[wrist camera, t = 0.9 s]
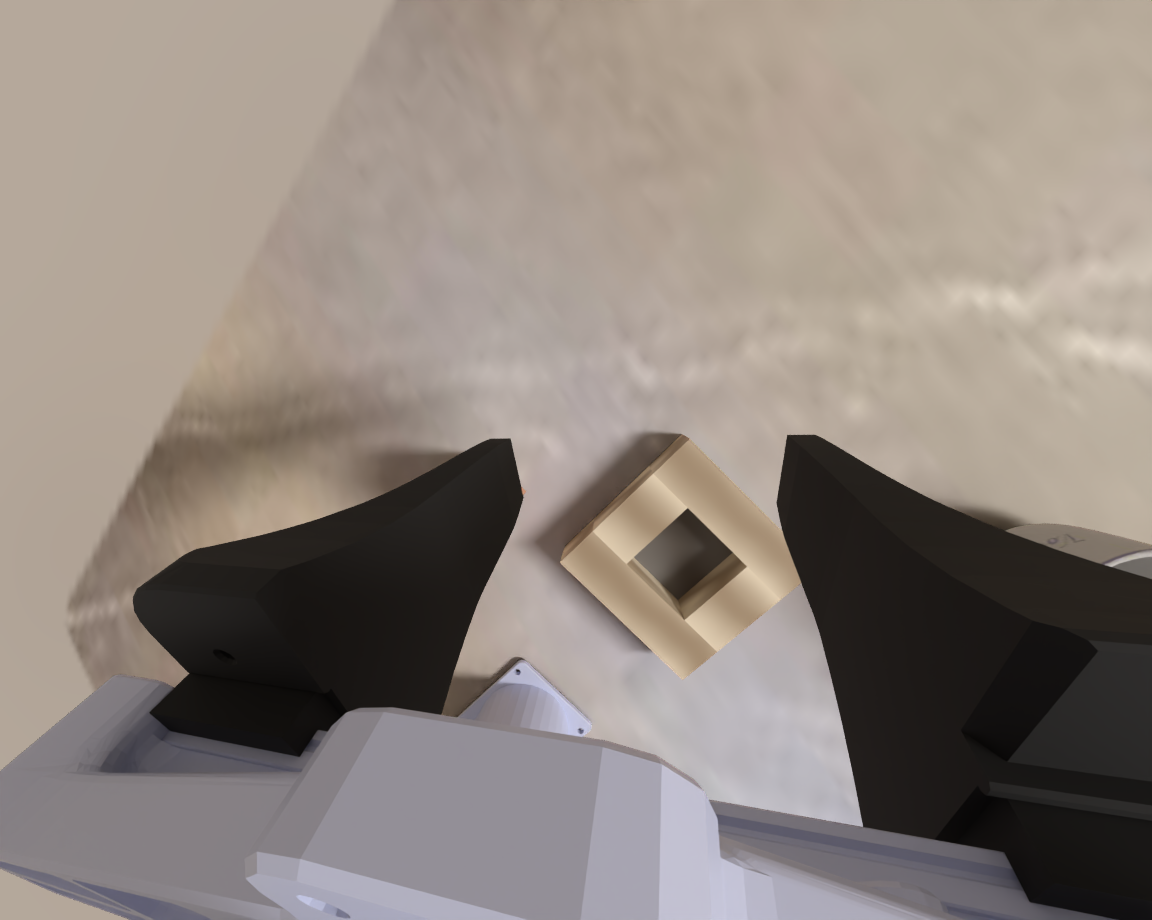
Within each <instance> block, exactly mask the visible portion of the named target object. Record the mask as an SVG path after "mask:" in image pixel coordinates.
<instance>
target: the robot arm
mask: <svg viewBox="0 0 1152 920" xmlns="http://www.w3.org/2000/svg"><path fill="white" fill-rule="evenodd" d="M523 498H524V497H523V493H522V488H521V484H520V479H519V475H518V470H517V466H516V461H515V457H514V452H513V448H512V443H511V439H489V440H486V441H484V442H482V443H480V444H478V445H476V446H474V447H472V448H470V449H468V450H467V451H465V452H463V453H461V454H459V455H458V456H456V457H454V458H452V459H451V460H449V461H447V462H445V463H444V464H442V465H440V466H438V467H437V468H435V469H433V470H431V471H429V472H427V473H425V474H423V475H421V476H420V477H418V478H416V479H414V480H412V481H410V482H408V483H406V484H404V485H402V486H400V487H398V488H396V489H394V490H392V491H390V492H388V493H385V494H383V495H381V496H378V497H376V498H374V499H371V500H369V501H367V502H364V503H362V504H359V505H357V506H354V507H351V508H348V509H345V510H343V511H340V512H337V513H334V514H331V515H329V516H326V517H323V518H320V519H317V520H314V521H311V522H307V523H304V524H301V525H297V526H294V527H290V528H287V529H283V530H279V531H276V532H272V533H268V534H264V535H260V536H256V537H251V538H247V539H242V540H238V541H233V542H228V543H224V544H219V545H215V546H210V547H205V548H200V549H196V550H193V551H191V552H189V553H187V554H185V555H183V556H182V557H181V558H179V559H178V560H176V561H175V562H174V563H172V564H171V565H169V566H168V567H167V568H165V569H164V570H162V571H161V572H160V573H158V574H157V575H155V576H154V577H153V578H151V579H150V580H149V581H147V582H146V583H144V584H143V585H142V586H140V587H139V588H137V590H136V592H135V594H134V596H133V605H134V611H135V613H136V615H137V617H138V618H139V620H140V622H141V623H142V624H143V626H144V627H145V628H146V629H147V630H148V632H149V633H150V634H151V635H152V636H153V637H154V638H155V639H156V640H157V641H158V642H159V643H160V644H161V645H162V646H163V647H164V648H165V649H166V650H167V651H168V652H169V653H170V654H171V655H172V656H173V657H174V658H175V659H176V660H177V662H178V663H179V664H180V665H181V666H182V667H183V668H184V669H185V670H186V671H187V672H188V673H189V674H188V675H187V676H186V677H185V678H184V679H183V680H182V681H181V682H180V683H179V684H178V685H177V686H176V687H175V688H174V687H172V686H170V685H168V684H166V683H165V682H162V681H158V680H154V679H148V678H142V677H135V676H129V675H123V674H119V675H114V676H112V677H111V678H110V679H109V680H108V681H107V682H105V683H104V684H103V685H102V686H101V687H99V688H98V689H97V690H96V691H95V692H93V693H92V694H91V695H90V696H89V697H88V698H86V699H85V700H84V701H83V702H82V703H80V704H79V705H78V706H77V707H76V708H74V709H73V710H72V711H71V712H70V713H68V714H67V715H66V716H65V717H64V718H63V719H61V720H60V721H59V722H58V723H57V724H55V725H54V726H53V727H52V728H51V729H49V730H48V731H47V732H46V733H45V734H43V735H42V736H41V737H40V738H39V739H37V740H36V741H35V742H34V743H33V744H32V745H30V746H29V747H28V748H27V749H26V750H24V751H23V752H22V753H21V754H20V755H18V756H17V757H16V758H15V759H14V760H13V761H11V762H10V763H9V764H8V765H7V766H6V767H4V768H3V769H2V770H1V771H0V869H2V870H4V871H7V872H9V873H11V874H13V875H16V876H18V877H20V878H22V879H25V880H27V881H29V882H31V883H34V884H36V885H38V886H40V887H43V888H45V889H47V890H49V891H52V892H54V893H56V894H59V895H62V896H65V897H68V898H71V899H73V900H77V901H79V902H82V903H85V904H88V905H91V906H93V907H96V908H99V909H102V910H104V911H107V912H110V913H113V914H115V915H118V916H121V917H124V918H127V919H129V920H1152V579H1150V578H1147V577H1143V576H1140V575H1137V574H1133V573H1130V572H1127V571H1123V570H1120V569H1116V568H1113V567H1110V566H1106V565H1103V564H1100V563H1096V562H1093V561H1090V560H1087V559H1084V558H1081V557H1078V556H1075V555H1072V554H1069V553H1066V552H1063V551H1060V550H1057V549H1054V548H1051V547H1048V546H1045V545H1043V544H1040V543H1037V542H1034V541H1032V540H1029V539H1026V538H1023V537H1020V536H1018V535H1015V534H1012V533H1009V532H1007V531H1004V530H1002V529H999V528H997V527H994V526H991V525H989V524H986V523H984V522H982V521H979V520H977V519H975V518H972V517H970V516H968V515H965V514H963V513H961V512H958V511H956V510H954V509H951V508H949V507H947V506H945V505H943V504H940V503H938V502H936V501H934V500H932V499H930V498H928V497H926V496H924V495H922V494H920V493H918V492H916V491H914V490H912V489H910V488H908V487H906V486H904V485H903V484H901V483H899V482H897V481H895V480H893V479H891V478H890V477H888V476H886V475H884V474H882V473H881V472H879V471H877V470H875V469H874V468H872V467H870V466H869V465H867V464H865V463H864V462H862V461H860V460H859V459H857V458H855V457H854V456H852V455H850V454H849V453H847V452H845V451H844V450H842V449H840V448H839V447H837V446H835V445H833V444H832V443H830V442H828V441H826V440H825V439H823V438H821V437H819V436H817V435H787V440H786V447H785V453H784V460H783V466H782V472H781V479H780V485H779V491H778V498H777V507H778V512H779V517H780V522H781V526H782V531H783V535H784V538H785V541H786V544H787V547H788V549H789V552H790V555H791V557H792V560H793V563H794V565H795V568H796V570H797V573H798V575H799V578H800V581H801V583H802V586H803V588H804V591H805V594H806V596H807V599H808V601H809V604H810V607H811V609H812V612H813V614H814V617H815V620H816V623H817V626H818V629H819V632H820V636H821V640H822V644H823V647H824V651H825V655H826V659H827V663H828V667H829V670H830V674H831V678H832V683H833V687H834V691H835V695H836V699H837V704H838V708H839V712H840V716H841V720H842V725H843V730H844V734H845V739H846V744H847V748H848V753H849V758H850V762H851V767H852V771H853V776H854V781H855V786H856V791H857V797H858V802H859V807H860V812H861V818H862V823H863V827H859V826H854V825H848V824H843V823H837V822H831V821H826V820H820V819H815V818H809V817H803V816H798V815H792V814H787V813H781V812H775V811H770V810H764V809H759V808H753V807H747V806H742V805H736V804H731V803H725V802H719V801H714V800H708V797H707V795H706V793H705V791H704V790H703V789H702V788H701V787H700V786H699V785H698V783H697V782H696V781H695V780H694V779H693V778H691V777H689V776H688V775H686V774H685V773H683V772H682V771H680V770H679V769H677V768H675V767H674V766H672V765H671V764H669V763H668V762H666V761H664V760H663V759H661V758H660V757H658V756H657V755H654V754H650V753H647V752H643V751H640V750H636V749H633V748H629V747H626V746H622V745H619V744H616V743H612V742H609V741H605V740H599V739H592V738H586V737H583V736H584V735H586V734H587V733H588V732H589V731H590V730H591V725H592V724H591V722H590V720H589V719H588V718H587V717H586V716H584V715H583V714H582V713H581V712H580V711H579V710H578V709H577V708H576V707H575V706H574V705H573V704H572V703H571V702H569V701H568V700H567V699H566V698H565V697H564V696H563V695H562V694H561V693H560V692H559V691H558V690H557V689H556V688H554V687H553V686H552V685H551V684H550V683H549V682H548V681H547V680H546V679H545V678H544V677H543V676H542V675H541V674H540V673H538V672H537V671H536V670H535V669H534V668H533V667H532V666H531V665H530V664H529V663H528V662H527V661H525V660H519V661H518V662H517V663H516V664H515V665H513V666H512V667H511V668H510V669H509V670H508V671H507V672H506V673H505V674H504V675H503V676H501V677H500V678H499V679H498V680H497V681H496V682H495V683H494V684H493V685H492V686H491V687H489V688H488V689H487V690H486V691H485V692H484V693H483V694H482V695H481V696H480V697H479V698H477V699H476V700H475V701H474V702H473V703H472V704H471V705H470V706H469V707H468V708H467V709H465V710H464V711H463V712H462V713H461V714H460V715H459V716H458V717H451V716H445V715H441V714H442V710H443V707H444V703H445V700H446V697H447V693H448V690H449V687H450V683H451V680H452V676H453V673H454V670H455V667H456V664H457V661H458V658H459V655H460V652H461V649H462V646H463V643H464V640H465V637H466V634H467V631H468V628H469V625H470V623H471V620H472V617H473V614H474V612H475V609H476V606H477V604H478V601H479V599H480V597H481V594H482V592H483V590H484V588H485V586H486V584H487V582H488V580H489V578H490V576H491V574H492V572H493V570H494V568H495V566H496V564H497V562H498V560H499V557H500V555H501V553H502V551H503V549H504V547H505V545H506V543H507V541H508V539H509V537H510V535H511V533H512V531H513V529H514V526H515V523H516V520H517V517H518V514H519V511H520V508H521V504H522V501H523ZM516 669H519V670H520V672H517V671H516ZM579 728H582V729H583V730H579Z"/></svg>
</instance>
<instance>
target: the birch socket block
mask: <svg viewBox="0 0 1152 920" xmlns="http://www.w3.org/2000/svg"><path fill="white" fill-rule="evenodd" d="M560 563H561V564H562V565H563V566H564V567H565V568H566V569H567V570H568V571H569V572H570V573H571V574H572V575H573V576H574V577H575V578H576V579H577V580H579V581H580V582H581V583H582V584H583V585H584V586H585V587H586V588H587V589H588V590H589V591H590V592H591V593H592V594H593V595H594V596H595V597H596V598H597V599H598V600H599V601H600V602H602V603H603V604H604V605H605V606H606V607H607V608H608V609H609V610H610V611H611V612H612V613H613V614H614V615H615V616H616V617H617V618H618V619H619V620H620V621H621V622H622V623H623V624H625V625H626V626H627V627H628V628H629V629H630V630H631V631H632V632H633V633H634V634H635V635H636V636H637V637H638V638H639V639H640V640H641V641H642V642H643V643H644V644H645V645H646V646H647V647H649V648H650V649H651V650H652V651H653V652H654V653H655V654H656V655H657V656H658V657H659V658H660V659H661V660H662V661H663V662H664V663H665V664H666V665H667V666H668V667H669V668H670V669H672V670H673V671H674V672H675V673H676V674H677V675H678V676H679V677H680V678H681V679H682V680H683V679H685V678H686V677H687V676H688V675H690V674H691V673H692V672H693V671H694V670H696V669H697V668H698V667H699V666H700V665H702V664H703V663H704V662H705V661H707V660H708V659H709V658H710V657H711V656H713V655H714V654H715V653H716V652H718V651H719V650H720V649H721V648H722V647H724V646H725V645H726V644H727V643H729V642H730V641H731V640H732V639H733V638H735V637H736V636H737V635H738V634H740V633H741V632H742V631H743V630H744V629H746V628H747V627H748V626H749V625H751V624H752V623H753V622H754V621H755V620H757V619H758V618H759V617H760V616H762V615H763V614H764V613H765V612H766V611H768V610H769V609H770V608H771V607H773V606H774V605H775V604H776V603H777V602H779V601H780V600H781V599H782V598H784V597H785V596H786V595H787V594H788V593H790V592H791V591H792V590H793V589H795V588H796V587H797V586H798V585H799V584H801V581H800V578H799V575H798V573H797V570H796V568H795V565H794V563H793V560H792V557H791V555H790V552H789V549H788V547H787V544H786V541H785V538H784V535H783V532H782V531H781V530H780V529H779V528H778V527H777V526H776V525H775V524H774V523H773V522H772V521H771V520H770V519H769V518H768V517H767V516H766V515H765V514H764V513H763V512H762V511H761V510H760V509H759V508H758V507H757V506H756V505H755V504H754V503H753V502H752V501H751V500H750V499H749V498H748V497H747V496H746V495H745V494H744V493H743V492H742V491H741V490H740V489H739V488H738V487H737V486H736V485H735V484H734V483H733V482H732V481H731V480H730V479H729V478H728V477H727V476H726V475H725V474H724V473H723V472H722V471H721V470H720V469H719V468H718V467H717V466H716V465H715V464H714V463H713V462H712V461H711V460H710V459H709V458H708V457H707V456H706V455H705V454H704V453H703V452H702V451H701V450H700V449H699V448H698V447H697V446H696V445H695V444H694V443H693V442H692V441H691V440H690V439H689V438H688V437H686V436H684V435H681V436H680V437H679V438H677V439H676V440H675V441H674V442H673V443H672V444H671V445H670V446H669V447H668V448H667V449H666V450H665V451H664V452H663V453H662V454H661V455H660V456H659V457H658V458H657V459H656V460H655V461H654V462H652V463H651V464H650V465H649V466H648V467H647V468H646V469H645V470H644V471H643V472H642V473H641V474H640V475H639V476H638V477H637V478H636V479H635V480H634V481H633V482H632V483H631V484H630V485H629V486H627V487H626V488H625V489H624V490H623V491H622V492H621V493H620V494H619V495H618V496H617V497H616V498H615V499H614V500H613V501H612V502H611V503H610V504H609V505H608V506H607V507H606V508H605V509H603V510H602V511H601V512H600V513H599V514H598V515H597V516H596V517H595V518H594V519H593V520H592V521H591V522H590V523H589V524H588V525H587V526H586V527H585V528H584V529H583V530H582V531H581V532H580V533H578V534H577V535H576V536H575V537H574V538H573V539H572V540H571V541H570V542H569V543H568V544H567V545H566V546H565V548H564V551H563V554H562V557H561V560H560Z"/></svg>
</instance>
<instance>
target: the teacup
mask: <svg viewBox="0 0 1152 920" xmlns="http://www.w3.org/2000/svg"><path fill="white" fill-rule="evenodd" d="M1005 531H1007V532H1009V533H1012V534H1015V535H1018V536H1020V537H1023V538H1026V539H1029V540H1032V541H1034V542H1037V543H1040V544H1043V545H1045V546H1048V547H1051V548H1054V549H1057V550H1060V551H1063V552H1066V553H1069V554H1072V555H1075V556H1078V557H1081V558H1084V559H1087V560H1090V561H1093V562H1096V563H1100V564H1103V565H1106V566H1110V567H1113V568H1116V569H1120V570H1123V571H1127V572H1130V573H1133V574H1137V575H1140V576H1143V577H1147V578H1150V579H1152V545H1150V544H1146V543H1142V542H1139V541H1135V540H1131V539H1127V538H1123V537H1120V536H1116V535H1111V534H1107V533H1103V532H1099V531H1095V530H1090V529H1085V528H1081V527H1075V526H1069V525H1060V524H1030V525H1023V526H1019V527H1014V528H1011V529H1008V530H1005Z"/></svg>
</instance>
